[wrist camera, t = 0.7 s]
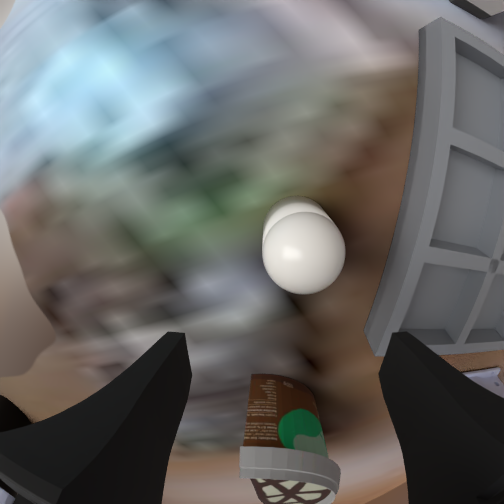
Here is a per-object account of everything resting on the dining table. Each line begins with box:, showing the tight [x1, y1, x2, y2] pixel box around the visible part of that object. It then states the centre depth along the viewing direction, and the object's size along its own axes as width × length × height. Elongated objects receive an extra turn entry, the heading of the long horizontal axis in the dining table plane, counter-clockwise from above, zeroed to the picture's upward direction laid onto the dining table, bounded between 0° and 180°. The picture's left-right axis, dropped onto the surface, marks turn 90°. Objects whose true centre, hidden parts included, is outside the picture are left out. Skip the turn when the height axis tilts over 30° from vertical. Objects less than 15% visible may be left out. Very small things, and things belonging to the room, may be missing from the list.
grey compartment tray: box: [364, 17, 504, 356], centre depth 15 cm, size 15×22×3 cm
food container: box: [239, 374, 341, 504], centre depth 19 cm, size 12×6×10 cm, turn 10°
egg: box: [262, 196, 346, 294], centre depth 15 cm, size 4×4×6 cm
